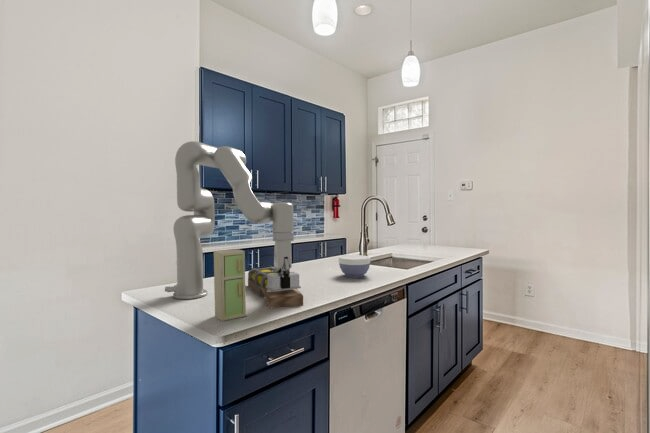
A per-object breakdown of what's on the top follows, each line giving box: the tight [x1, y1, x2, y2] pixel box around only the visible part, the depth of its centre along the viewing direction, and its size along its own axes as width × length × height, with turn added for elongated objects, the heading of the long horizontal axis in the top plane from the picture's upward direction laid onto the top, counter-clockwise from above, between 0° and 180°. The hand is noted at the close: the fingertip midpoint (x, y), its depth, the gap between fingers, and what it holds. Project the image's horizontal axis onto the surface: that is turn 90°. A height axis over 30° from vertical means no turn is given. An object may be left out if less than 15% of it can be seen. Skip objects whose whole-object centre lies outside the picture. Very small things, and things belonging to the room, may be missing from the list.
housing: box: [266, 271, 302, 292], centre depth 125 cm, size 11×7×5 cm, turn 116°
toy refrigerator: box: [213, 248, 247, 322], centre depth 110 cm, size 8×7×21 cm
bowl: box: [338, 254, 371, 279], centre depth 174 cm, size 16×16×10 cm
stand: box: [264, 289, 304, 309], centre depth 126 cm, size 12×10×4 cm
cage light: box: [247, 266, 278, 298], centre depth 146 cm, size 15×8×30 cm
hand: (283, 285), depth 126 cm, fingers closed on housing, 6 cm apart
